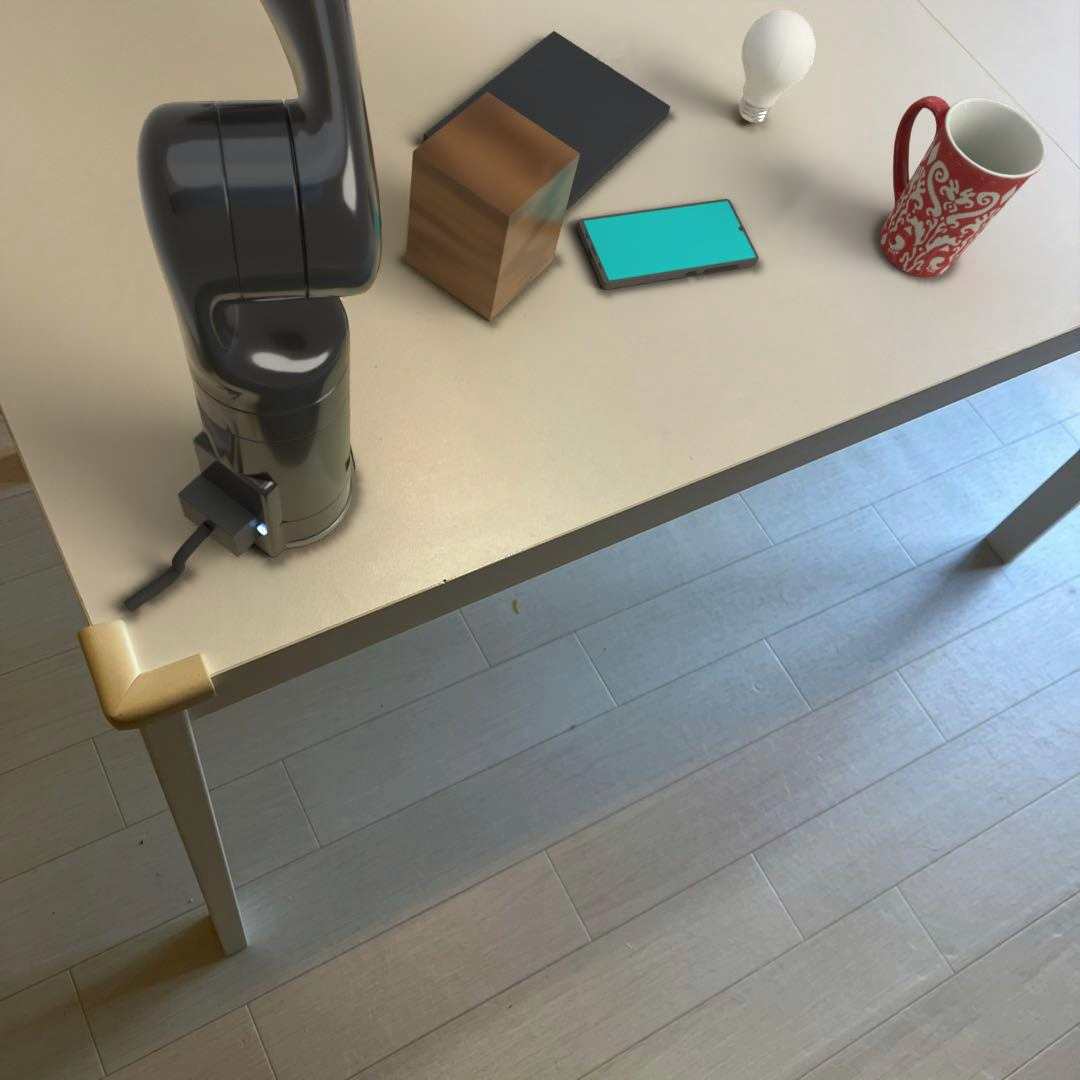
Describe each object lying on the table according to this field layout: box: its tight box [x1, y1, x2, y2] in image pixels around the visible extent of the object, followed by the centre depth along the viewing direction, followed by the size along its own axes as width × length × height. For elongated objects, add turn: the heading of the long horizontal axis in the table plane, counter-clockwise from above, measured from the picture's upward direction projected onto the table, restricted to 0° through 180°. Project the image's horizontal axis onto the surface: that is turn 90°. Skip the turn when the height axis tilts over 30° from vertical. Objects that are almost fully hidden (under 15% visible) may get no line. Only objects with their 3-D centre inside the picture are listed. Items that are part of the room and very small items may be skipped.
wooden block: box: [405, 92, 580, 322], centre depth 81 cm, size 9×9×12 cm
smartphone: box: [576, 198, 759, 290], centre depth 90 cm, size 7×1×15 cm
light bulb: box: [738, 9, 817, 124], centre depth 95 cm, size 7×7×11 cm
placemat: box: [422, 30, 671, 213], centre depth 94 cm, size 20×14×1 cm
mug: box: [879, 95, 1047, 278], centre depth 91 cm, size 13×9×14 cm
